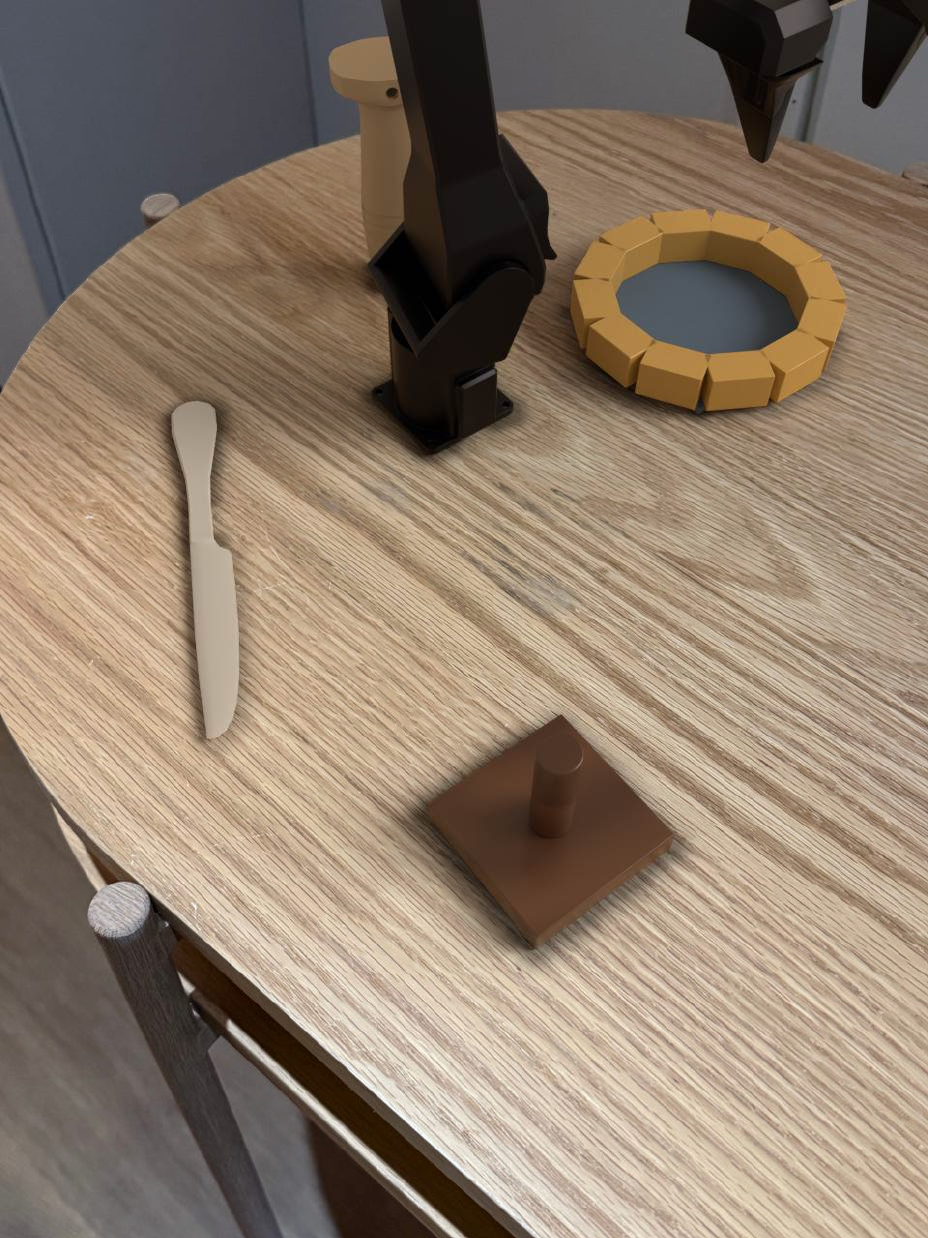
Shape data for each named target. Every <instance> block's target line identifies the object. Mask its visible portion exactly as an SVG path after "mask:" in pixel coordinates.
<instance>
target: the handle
mask: <svg viewBox="0 0 928 1238" xmlns="http://www.w3.org/2000/svg"><path fill="white" fill-rule="evenodd" d="M328 66H329V67H328V68H329V76H330V82H331V86H332V88H333V89H334V90H335V92H336V93H338V94H339V95H340V96H341V97H342V98H345V99H347V100H349V101H352V102H356V103H357V106H358V112H359V131H360V132H359V133H360V201H361V203H360V204H361V214H362V215H361V216H362V217H361V218H362V224H363V231H364V238H365V242H366V247H367V251H368V254H369V257H370V260H371V259H372V258H373V257H374V255H375V254H376V253H377V252H378V251H379V250H380V248H381V247H382V246H383V245H384V244H385V242H386V241H387V240H388V239H389V238H390V236H391V235H392V234H393V233H394V232H395V231H396V229H397V228H398V227H399V226H400V225H401V223H402V222H403V221H404V203H403V181H404V177H405V174H406V170H407V166H408V163H409V159H410V155H411V139H410V135H409V130H408V125H407V121H406V116H405V111H404V106H403V102H402V97H401V92H400V88H399V83H398V78H397V74H396V69H395V64H394V60H393V55H392V50H391V46H390V41H389V36H388V35H386V36H376V37H367V38H366V37H365V38H361V39H358V40H357V39H356V40H354V41H351V42H348V43H345V44H343V45H340V46H337V47H334V49H332V51H330V53H329V56H328Z"/></svg>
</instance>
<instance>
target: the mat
mask: <svg viewBox="0 0 928 1238" xmlns="http://www.w3.org/2000/svg"><path fill="white" fill-rule="evenodd" d="M615 296H616V299H617V302H618V306H619V309H620V312H621V314H622V315H624V316H625V317H626V318H628V319H629V320H630V321H631V322H633V323H634V324H635V325H637V326H638V327H639V328H640V329H642V330H643V331H644V332H646V333H647V334H648V335H649V336H651V337H652V338H653V339H655V340H657V341H661V342H664V343H668V344H672V345H675V346H679V347H683V348H686V349H690V350H694V351H697V352H701V353H705V354H719V353H731V352H743V351H756V350H761V349H763V348H764V347H766V346H768V345H770V344H771V343H773V342H775V341H777V340H778V339H780V338H782V337H784V336H786V335H787V334H789V333H791V332H793V331H794V330H796V329H797V327H798V325H799V324H798V322H797V320H796V318H795V316H794V313H793V311H792V309H791V307H790V305H789V302H788V300H787V298H786V296H784V295H783V294H781V293H780V292H778V291H777V290H776V289H774V288H773V287H771V286H770V285H768V284H767V283H766V282H764V281H763V280H761V279H760V278H758V277H757V276H755V275H754V274H753V273H751V272H750V271H746V270H742V269H738V268H734V267H730V266H726V265H722V264H718V263H714V262H710V261H706V260H699V261H685V262H672V263H659V264H656V265H654V266H652V267H650V268H648V269H646V270H644V271H642V272H640V273H638V274H636V275H634V276H632V277H630V278H628V279H626V280H624V281H622V283H621V285H620V286H619V288H618V290H617V292H616V294H615ZM691 410H692V411H693V412H694V413H696V414H697V415H700V414H701V413H703V412H705V411H706V409H705V406H704V403H703V401H702V398H701V397H700V399H699V401H698V404H697V406H696V408H695V410H693V409H691Z"/></svg>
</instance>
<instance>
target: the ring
mask: <svg viewBox="0 0 928 1238" xmlns="http://www.w3.org/2000/svg"><path fill="white" fill-rule="evenodd" d="M770 228H771V223H770V222H767V221H763V220H759V219H754V218H751V217H747V216H742V215H738V214H734V213H730V212H726V211H722V210H717V209H716V210H714V212H713V215H712V217H711V219H710V217H709V214H708V212H707V209H705V208H702V209H701V208H700V209H688V210H686V209H685V210H674V211H658V212H650V216H649V219H648V218H647V217H645V216H643V215H639V216H637V217H635V218H633V219H631V220H629V221H627V222H625V223H622V224H620V225H619V226H616V227H614V228H612V229H610V230H608V231H606V232H603V233H602V234H600V235H599V236H598V241H596V240H593V241H592V242H591V244H590V246H589V247H588V248H587V250H586V252H585V253H584V255H583V257H582V259H581V261H580V263H579V264H578V266H577V267H576V269H575V271H574V273H573V278H572V286H571V298H570V307H569V312H570V315H571V319H572V323H573V325H574V330H575V334H576V336H577V340H578V345H579V347H580V349H581V350H583V349H586V350H585V357H587V358H588V359H589V360H591V361H592V362H593V363H594V364H596V365H597V366H598V367H600V369H601V370H603V371H604V372H605V373H607V374H608V375H609V376H610V377H611V378H612V379H614V380H615V381H616V382H618V383H619V384H620V385H621V386H622V387H623V388H625V389H626V388H629V387H630V386H631V385H632V386H633V385H634V384H636V385H635V390H634V393H635V394H637V395H640V396H643V397H647V398H650V399H654V400H657V401H661V402H664V403H668V404H672V405H675V406H678V407H683V408H686V409H689V410H692V409H693V410H695V408H696V406H697V404H698V401H699V399H700V397H701V398H702V401H703V403H704V406H705V409H706V410H705V411H706V412H710V411H711V412H713V411H723V410H735V409H745V408H746V409H747V408H756V407H757V408H758V407H767V406H768V403H769V399H771V400H772V401H773V402H775V404H776V403H779V402H781V401H783V400H784V399H786V398H788V397H789V396H791V395H793V394H794V393H796V392H797V391H800V390H801V389H803V388H804V387H806V386H808V385H810V384H812V383H813V382H815V381H816V380H818V379H820V377H821V374H822V372H826V369H827V367H828V363H829V360H830V359H831V355H832V352H833V349H834V347H835V344H836V341H837V338H838V335H839V333H840V329H841V327H842V323H843V320H844V318H845V314H846V311H847V309H848V304H846V300H847V296H846V294H845V291H844V290H843V289H842V288H843V287H842V286H841V284H840V282H839V280H838V278H837V276H836V274H835V272H834V270H833V268H832V266H831V265H830V262H829V261H827V260H826V261H821V260H822V257H823V254H822V253H820V252H819V251H817V249H814V248H813V247H812V246H810V245H808V244H807V243H805V242H804V241H802V240H801V239H799V238H798V237H796V236H795V235H793V234H792V233H790V232H789V231H787V230H785V229H784V228H783V227H781V226H779V227H777V228H774V229H773V230H771V231H770ZM699 260H706V261H710V262H714V263H718V264H722V265H726V266H730V267H734V268H738V269H742V270H746V271H749V272H750V273H751V274H753V275H754V276H756V277H757V278H759V279H760V280H762V281H763V282H764V283H766V284H767V285H769V286H770V287H772V288H773V289H774V290H776V291H777V292H779V293H780V294H782V295H783V296H784V297H786V298H787V300H788V302H789V305H790V307H791V309H792V311H793V313H794V316H795V318H796V320H797V322H798V324H799V325H798V327H797V329H796V330H794V331H793V332H791V333H789V334H787V335H786V336H784V337H782V338H780V339H778V340H777V341H775V342H773V343H771V344H770V345H768V346H766V347H764V348H763V349H761V350H756V351H743V352H731V353H719V354H705V353H701V352H697V351H694V350H690V349H686V348H683V347H679V346H675V345H672V344H668V343H664V342H661V341H657V340H655V339H653V338H652V337H651V336H649V335H648V334H647V333H646V332H644V331H643V330H642V329H640V328H639V327H638V326H637V325H635V324H634V323H633V322H631V321H630V320H629V319H628V318H626V317H625V316H624V315H622V314H621V312H620V309H619V306H618V302H617V299H616V296H615V294H616V292H617V290H618V288H619V286H620V285H621V283H622V281H624V280H626V279H628V278H630V277H632V276H634V275H636V274H638V273H640V272H642V271H644V270H646V269H648V268H650V267H652V266H654V265H656V264H659V263H672V262H685V261H699ZM693 410H692V411H693Z"/></svg>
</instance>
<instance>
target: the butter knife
mask: <svg viewBox="0 0 928 1238" xmlns="http://www.w3.org/2000/svg"><path fill="white" fill-rule="evenodd" d="M217 430H218V424H217V415H216V409H215V408H214V407H213V406H212V405H211V404H210V403H208V402H204V401H200V400H192V401H187V402H185V403H182V404H180V405H178V406H177V407H176V408H175V409H174V410H173V412H172V413H171V436H172V439H173V443H174V447H175V450H176V454H177V457H178V461H179V465H180V467H181V472H182V474H183V477H184V481H185V482H184V483H185V489H186V491H185V492H186V498H187V508H188V534H189V535H188V536H189V552H190V553H189V554H190V555H189V556H190V569H191V570H190V571H191V586H192V587H191V588H192V590H191V591H192V604H193V605H192V607H193V622H194V623H193V624H194V637H195V638H194V639H195V646H196V647H195V648H196V661H197V670H198V680H199V690H200V697H201V705H202V712H203V722H204V728H205V735H206V739H207V740H209V739H210V740H211V739H217V738H218V737H220V736H222V735H223V734H224V733H226V732H227V730H228V729H229V726H230V725H231V723H232V721H233V719H234V714H235V711H236V707H237V702H238V695H239V694H238V693H239V683H240V639H239V638H240V633H239V620H238V619H239V618H238V606H237V605H238V604H237V592H236V583H235V573H234V564H233V556H232V555H233V553H232V552H231V551H230V550H229V549H227V548H225V547H222V546H220V545H219V544H218V542H217V541H216V540H215V539H214V528H213V527H214V526H213V516H212V503H211V501H212V500H211V475H212V467H213V461H214V453H215V447H216V440H217V439H216V437H217Z"/></svg>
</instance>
